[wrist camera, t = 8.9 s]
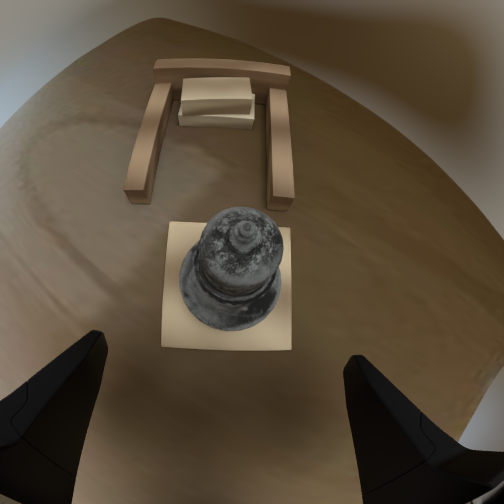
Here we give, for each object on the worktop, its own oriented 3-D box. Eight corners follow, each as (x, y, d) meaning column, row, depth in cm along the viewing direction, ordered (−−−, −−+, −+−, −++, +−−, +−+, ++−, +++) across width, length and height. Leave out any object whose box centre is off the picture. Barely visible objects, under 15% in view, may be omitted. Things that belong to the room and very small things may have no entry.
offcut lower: (251, 132, 24) (254, 119, 22) (179, 128, 24) (178, 115, 22) (252, 107, 25) (254, 94, 23) (185, 103, 24) (184, 90, 23)
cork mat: (288, 349, 19) (291, 349, 18) (163, 345, 18) (161, 346, 17) (287, 231, 22) (289, 227, 21) (171, 225, 20) (169, 221, 20)
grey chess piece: (191, 243, 19) (165, 133, 8) (272, 251, 20) (341, 157, 9) (181, 325, 18) (126, 322, 6) (266, 333, 18) (346, 340, 7)
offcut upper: (249, 114, 22) (252, 99, 21) (182, 116, 22) (180, 100, 20) (246, 92, 23) (249, 77, 21) (184, 93, 22) (183, 78, 21)
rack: (286, 210, 22) (302, 184, 18) (131, 203, 20) (115, 176, 16) (280, 96, 26) (289, 66, 21) (161, 90, 24) (157, 59, 20)
